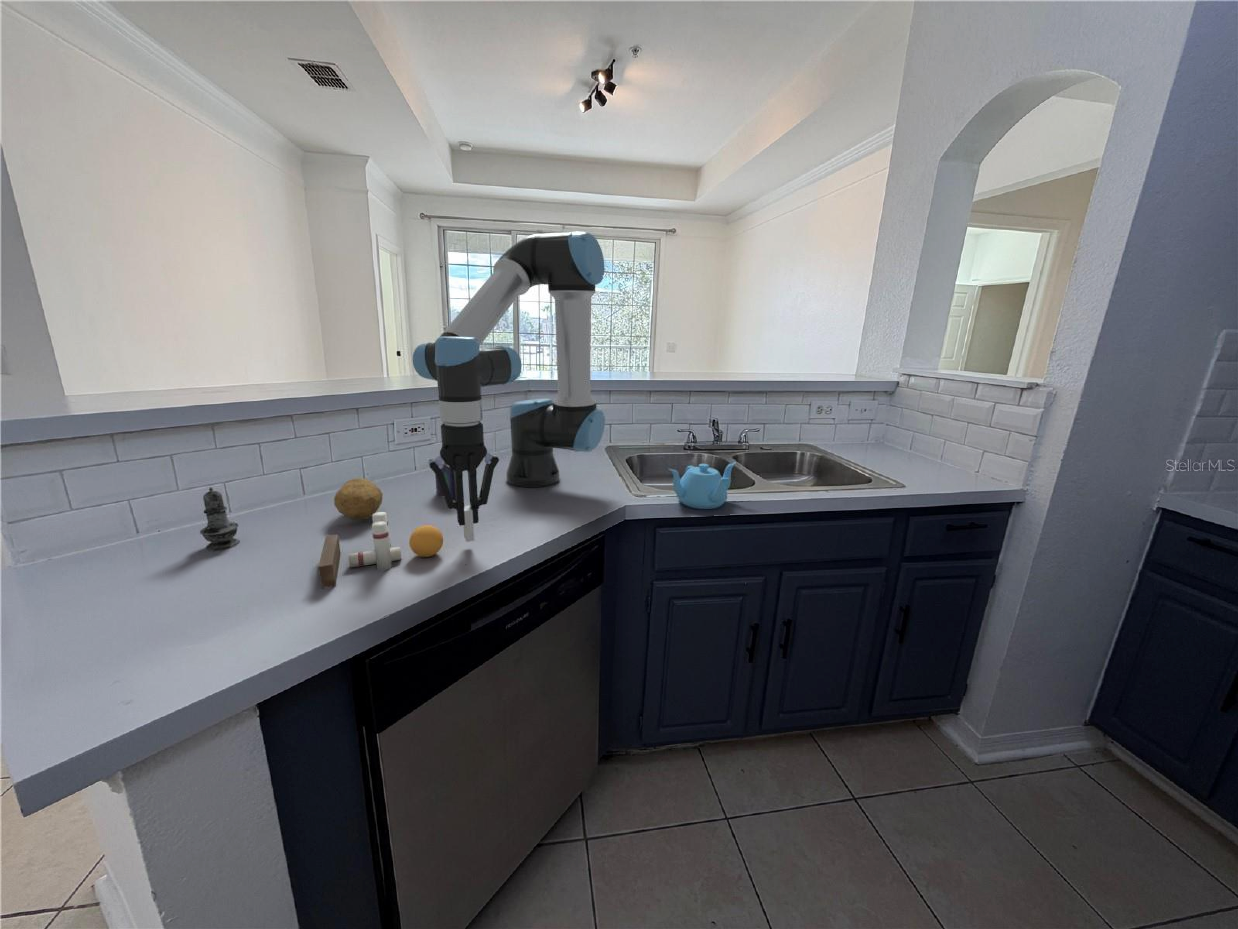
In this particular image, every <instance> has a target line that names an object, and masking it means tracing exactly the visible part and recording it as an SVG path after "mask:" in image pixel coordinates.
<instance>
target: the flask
mask: <svg viewBox="0 0 1238 929" xmlns="http://www.w3.org/2000/svg"><path fill="white" fill-rule="evenodd" d="M442 464H443V468H442V469H441V470H442V472H443V474H444V477H445V480H446V483H447V486H448V488H449V491H450V494H451V497H452V500H454V501H456V495H455V480H454V470H452V469H451V468H450V467H449V466H448V464H447V463H446V462H445V461H444V460H443V462H442ZM434 475H435V489H436V491H435V492H436V495H438V496H441V497H442V496H444V495H443V492H442V489H441V486H440V484H439V481H438V478H437V475H436V474H435V473H434Z"/></svg>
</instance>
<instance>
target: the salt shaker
mask: <svg viewBox="0 0 1238 929" xmlns="http://www.w3.org/2000/svg"><path fill="white" fill-rule="evenodd" d="M202 498H203V504H204V510H203V513H204V514H205V516H206V519H207V520H206V521H207V524H206V526H204V527H203V528H201V529H200V531H199V533H200V534H201V535H202V537H203V538H204V540H206V541H207V542H210V543H208V544H207V545H206V546H205V550H206V551H209V552H217V551H223V550H227V549H231V548H234V547H236V546H238V545H239V544H240V543H241V540H240V539H238V538H235V536H236V535H237V531H238V528H239V524H238V523H237V522H233V521H230V520H229V518H228V515H227V510H228V507H227V506H225V504H224V499H223V494H222V493H221V492H220V491H217V490H214V488H213V487H211V486H210V487H209V489H208V492H205V493H204V495H203V496H202ZM237 544H238V545H237Z"/></svg>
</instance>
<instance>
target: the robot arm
mask: <svg viewBox="0 0 1238 929" xmlns="http://www.w3.org/2000/svg"><path fill="white" fill-rule="evenodd" d="M604 259H605V257H604V254H603V250H602V247H601V245H600V243H599V241H598V240H597V238H596V236H594V235H593V234H592V233H590V232H586V231H573V230H572V231H565V232H564V231H563V232H561V231H560V232H553V233H552V232H549V233H548V232H547V233H535V234H530V235H529V236H526V237H523V239H521V240H518V242H516V243H515V244H514V245H512V246H511V247H510V248H508V249H507V250H505V252H504V253H503V254H502V255H500V257H499V258H498V259H497V261H496V262H495V263H494V265H493V268H492V269H493V271H492V274H491V275H490V276H489V277H488V278H487V279H486V281H485V282H484V283H483V284H482V286H481V287H480V288H479V289H478V290H477V291H476V293H475V294H474V295H473V296H472V298H470V300H469V301H468V302H467V303H466V304H465V306H463V308H462V309H461V311H460V312H459V313H458V314H457V315H456V316H455V318H454V319H453V320H452V322H451V323H450V324H449V325H448V326H447V327H446V329H445V330H444V331H443V332H442V333H441V334H440V336H438V337H437V338H436V340H435V341H434V342H427V343H421V344H419V345H417V347H415V349H414V352H413V354H412V365H413V368H414V370H415V372H416V374H418V375H419V376H420V377H421V378H423V379H427V380H431V381H436V382H437V383H436V384H437V390H438V406H439V421H441V422H442V424H441V425H440V434H441V435H440V437H441V448H440V451H439V455H438V456H436V457H435V458H434V459H429V460H428V466H429V468H430V469H431V470H432V472H434V475H435V474H436V475H437V478H438V481H439V484H440V486H441V489H442V492H443V495H444V497H443V498H444V500H445V503H446V505H447V508H448V509H450V510H452V509H453V510H456V516H457V523H458V525H459V526H463V536H464V539H465V541H466V543H470V542H475V533H474V532H475V531H474V524H478V523H479V508H480V507H481V506H484V505H487V504H488V501H489V496H490V490H491V486H492V480H493V476H494V471H495V468H496V466H497V465H498V463H499V461H500V458H499V457H498V456H497V455H496V454H495V453H491V452H489V451H488V449H487V448H486V446H485V442H484V440H485V438H484V425H483V423H482V422H481V421H482V420H483V417H484V416H483V402H482V388H484V387H489V386H498V385H503V386H504V385H507V384H510V383H512V382H514V381H516V380H517V379H518V378H519V376H520V375H521V373H522V360H521V356H520V355H519V354H518V352H517V351H516V350H515V349H514V348H512V347H509V346H506V345H505V346H503V345H495V346H489V345H488V346H485V345H483V346H482V344H483V343H484V341H486V339H487V338H488V336H489V335H490V334H491V332H492V331H493V329H494V328H495V327H496V326H497V324H498V323H499V321H500V320H502V318H503V317H504V315H505V314H506V313H507V311H508V310H509V309H510V307H511V306H512V305H513V303H514V302H515V300H517V298H518V297H519V296H522V295H525V294H526V293H527V292H529V290H530V289H531V288H532V287H534V286H541V285H546V286H547V287H548V288H547V290H548V294H550V295H551V297H552V298H553V299H554V312H555V337H556V338H555V341H556V342H555V343H556V348H555V349H556V371H557V372H556V373H557V396H556V397H555V398H554V399H551V398H536V399H535V398H534V399H528V400H527V399H526V400H520V401H516V402H514V403H512V404H511V406H510V415H509V420H510V437H511V438H510V439H511V440H510V442H511V457H510V459H509V463H508V467H507V470H506V473H505V474H506V476H505V477H506V482H507V483H508V484H509V485H511V486H515V487H520V488H521V487H522V488H541V487H547V486H551V485H554V484H557V483H558V482H559V481H560V470H559V466H558V463H557V461H556V458H555V454H554V449H559V450H567V451H574V452H584V453H589V452H592V451H593V450H595V449H596V448H597V447H598V446H599V444H600V442H601V440H602V437H603V435H604V431H605V428H606V427H605V426H606V418H605V413H604V412H603V410H601V409H599V408H597V400H596V399H595V398H594V397H593V396H592V392H591V330H590V329H591V326H590V325H591V323H590V322H591V321H590V316H591V314H590V299H591V298H592V297H593V296H594V295H595V294H596V286H597V285H599V284H601V282H602V281H603V279H604V275H605V260H604ZM443 460H444V461H445V462H446V463H447V464H448V466H449V467H450V468H451V469H452V470H454V480H455V495H456V501H454V500H452V497H451V494H450V491H449V488H448V486H447V483H446V480H445V477H444V474H443V472H442V470H441V469H442V468H443V464H442V462H443ZM483 460H484V463H485V466H484V471H483V476H482V480H481V485H480V491H479V495H478V478H477V473H478V472H477V469H478V468H479V466H480V465H481V463H482V462H483ZM465 471H466V472H467V477H468V479H467V480H468V482H467V483H468V492H469V493H468V494H469V503H470V504H469V505H465V497H464V496H465V495H464V482H463V481H464V480H463V479H464V478H463V476H464V475H463V472H465Z"/></svg>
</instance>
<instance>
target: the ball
mask: <svg viewBox="0 0 1238 929" xmlns="http://www.w3.org/2000/svg"><path fill="white" fill-rule="evenodd" d="M443 545H444V536H443V533H442V531H441V530H440V529H439V528H438V527H436V526H434V525H430V524H425V525H421V526H419V527H417V528H415V529H414V530H413V531H412V532H411V535H410V537H409V547H410V549H411V551H412V552H413V553H414V554H415V555H416V556H419V557H423V558H428V557H432V556H435V555H436V554H437V553H439V551H440V550H441V549H442V548H443Z"/></svg>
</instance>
